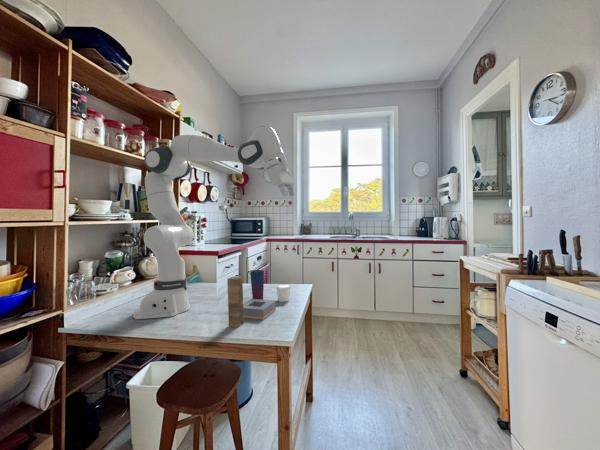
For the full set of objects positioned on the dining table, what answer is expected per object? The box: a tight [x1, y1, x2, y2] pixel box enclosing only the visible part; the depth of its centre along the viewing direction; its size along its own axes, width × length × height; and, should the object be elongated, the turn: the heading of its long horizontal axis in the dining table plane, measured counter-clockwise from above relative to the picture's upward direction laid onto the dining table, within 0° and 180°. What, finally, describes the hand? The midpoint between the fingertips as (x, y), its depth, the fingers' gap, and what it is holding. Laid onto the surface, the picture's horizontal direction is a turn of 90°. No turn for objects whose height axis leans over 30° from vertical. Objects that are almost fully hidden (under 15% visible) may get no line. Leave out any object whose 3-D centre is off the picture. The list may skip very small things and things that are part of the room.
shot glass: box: [275, 284, 291, 303], centre depth 131 cm, size 7×7×7 cm
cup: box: [249, 269, 265, 300], centre depth 130 cm, size 7×7×15 cm
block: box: [226, 276, 245, 328], centre depth 101 cm, size 4×4×18 cm
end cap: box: [243, 298, 277, 320], centre depth 113 cm, size 12×12×4 cm
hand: (289, 195), depth 109 cm, fingers open, 8 cm apart
